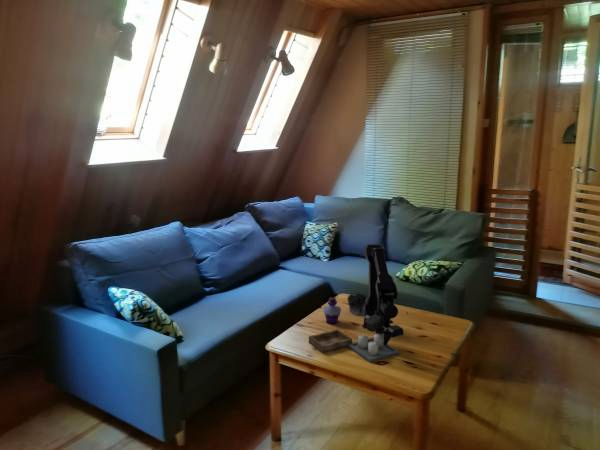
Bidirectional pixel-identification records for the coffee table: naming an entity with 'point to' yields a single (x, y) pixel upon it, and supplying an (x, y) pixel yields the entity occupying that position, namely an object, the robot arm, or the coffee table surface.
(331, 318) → the potion bottle
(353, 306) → the crystal cluster
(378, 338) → the stone
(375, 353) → the stone
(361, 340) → the stone
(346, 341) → the walnut box
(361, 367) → the coffee table surface
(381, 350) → the slate tray
